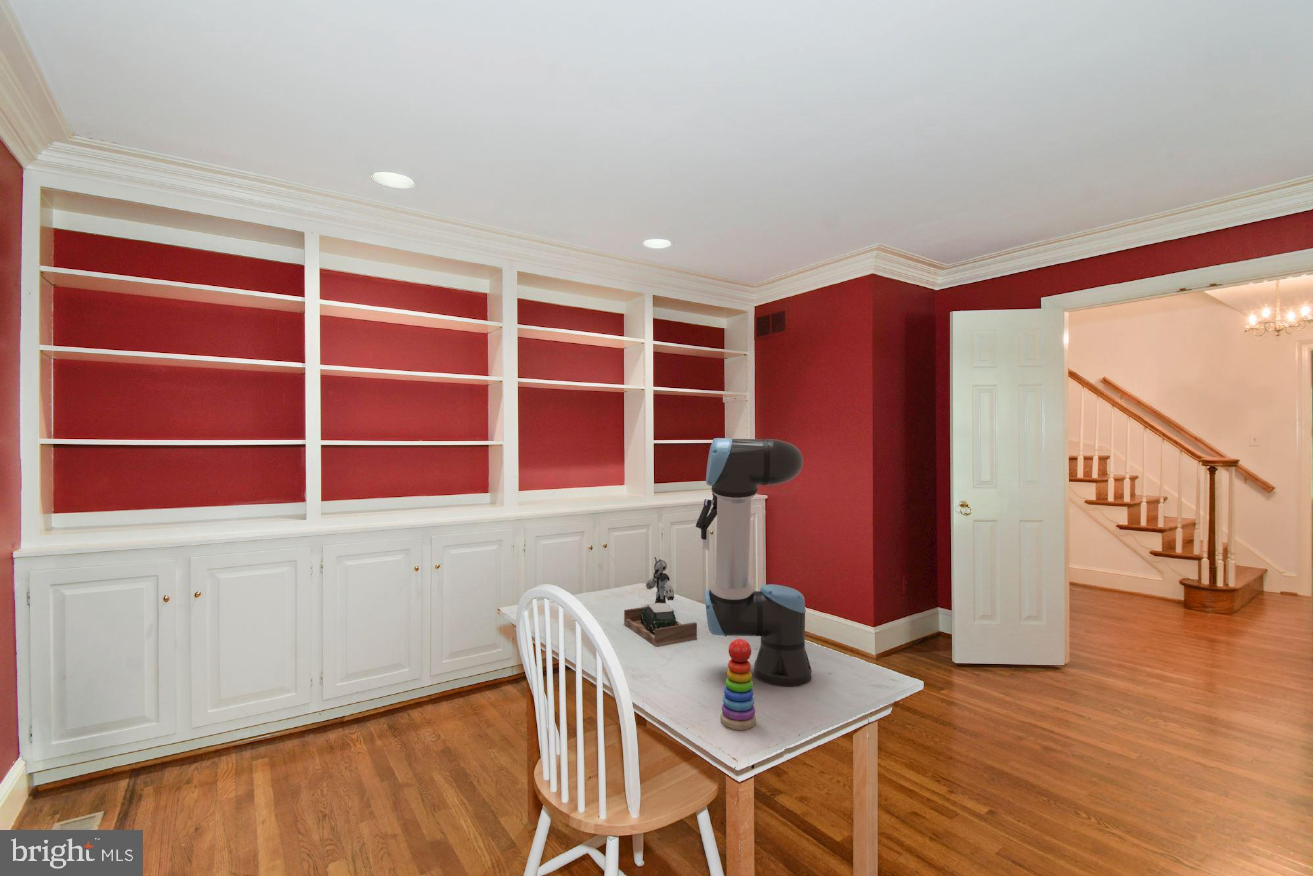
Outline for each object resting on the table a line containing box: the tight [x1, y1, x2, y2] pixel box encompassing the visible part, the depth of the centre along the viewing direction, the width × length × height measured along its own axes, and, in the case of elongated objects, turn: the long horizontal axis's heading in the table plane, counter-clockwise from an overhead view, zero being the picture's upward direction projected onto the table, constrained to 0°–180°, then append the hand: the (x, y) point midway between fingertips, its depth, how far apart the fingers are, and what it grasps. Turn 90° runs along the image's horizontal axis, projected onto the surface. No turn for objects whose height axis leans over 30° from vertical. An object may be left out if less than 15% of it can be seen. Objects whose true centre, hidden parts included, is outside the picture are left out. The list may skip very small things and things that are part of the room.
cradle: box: [623, 606, 698, 647], centre depth 193 cm, size 23×14×5 cm, turn 28°
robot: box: [645, 556, 675, 604], centre depth 214 cm, size 20×5×20 cm, turn 26°
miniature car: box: [640, 602, 678, 635], centre depth 193 cm, size 9×18×8 cm, turn 15°
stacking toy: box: [719, 638, 757, 731], centre depth 132 cm, size 8×8×19 cm
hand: (723, 547), depth 197 cm, fingers open, 13 cm apart
